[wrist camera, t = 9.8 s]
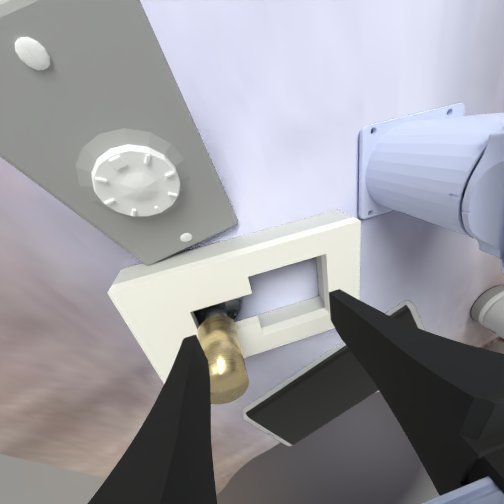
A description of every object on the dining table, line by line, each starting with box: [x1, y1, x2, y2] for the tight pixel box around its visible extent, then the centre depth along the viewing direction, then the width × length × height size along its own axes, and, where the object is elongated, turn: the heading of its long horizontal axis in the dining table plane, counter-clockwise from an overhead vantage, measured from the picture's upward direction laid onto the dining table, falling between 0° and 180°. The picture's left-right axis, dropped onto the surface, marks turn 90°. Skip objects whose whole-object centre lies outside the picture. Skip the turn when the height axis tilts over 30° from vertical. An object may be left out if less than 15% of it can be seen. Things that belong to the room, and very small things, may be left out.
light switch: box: [0, 0, 238, 265], centre depth 14 cm, size 8×6×14 cm
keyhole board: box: [108, 209, 361, 384], centre depth 22 cm, size 20×11×4 cm, turn 102°
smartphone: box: [242, 300, 425, 446], centre depth 33 cm, size 13×27×2 cm, turn 125°
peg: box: [193, 298, 249, 404], centre depth 19 cm, size 5×5×10 cm
